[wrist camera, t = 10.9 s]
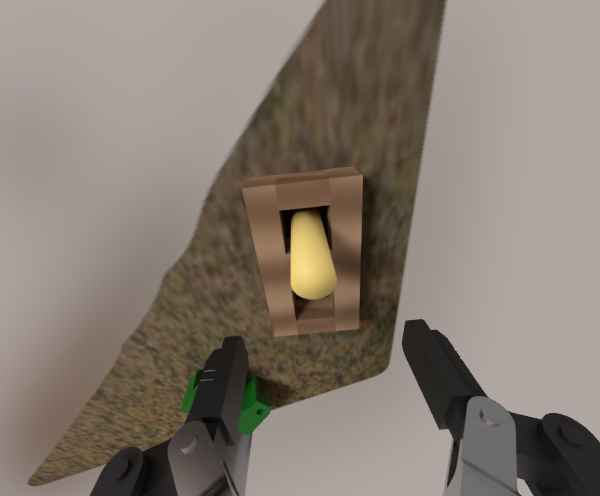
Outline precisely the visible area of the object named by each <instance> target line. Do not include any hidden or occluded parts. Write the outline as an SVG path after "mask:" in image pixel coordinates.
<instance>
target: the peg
mask: <svg viewBox="0 0 600 496" xmlns="http://www.w3.org/2000/svg"><path fill="white" fill-rule="evenodd" d="M336 284H337V276H336V272H335V269H334V265H333V261H332V257H331V254H330V250H329V246H328V242H327V239H326V235H325V231H324V227H323V223H322V220H321V216H320V212H319V210H318V208H317V207H308V208H299V209H293V210H292V213H291V287H292V289H293V291H294V292H295V293H296V294H297V295H299V296H300V297H302V298H305V299H320V298H323V297H325V296H327V295H329V294H330V293H331V292H332V291H333V290H334V288H335V287H336Z"/></svg>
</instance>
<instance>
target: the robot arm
mask: <svg viewBox="0 0 600 496" xmlns="http://www.w3.org/2000/svg"><path fill="white" fill-rule="evenodd" d="M402 347H403V351H404V354H405V357H406V359H407V361H408V363H409V365H410V367H411V369H412V372H413V374H414V376H415V378H416V380H417V383H418V385H419V387H420V389H421V391H422V393H423V395H424V398H425V400H426V402H427V404H428V406H429V408H430V411H431V413H432V415H433V417H434V419H435V421H436V424H437V426H438V428H439V430H441V429H449V431H450V432H451V435H452V437H453V438H452V443H451V449H450V456H449V462H448V469H447V475H446V482H445V487H444V492H443V496H521V495H520V494H519V493H518V489H517V478H520V479H523V480H525V482H526V484H527V485H528V487H529V489H530V491H531V492H532V494H533V495H534V496H600V442H599V441H598V440H597V439H596V437H595V436H594V435H593V434H592V433H591V432H590V431H589V430H588V429H587V428H585V427H584V426H583V425H582V424H580V423H578V422H577V421H575V420H574V419H572V418H570V417H567V416H565V415H562V414H558V413H549V414H546V415H545V416H544V417H543V418H542V420H541V419H537V418H533V417H528V416H524V415H519V414H516V413H512V412H509V411H507V410H506V409H505V408H504V407H503V406H502V405H500V404H499V403H497V402H496V401H494V400H492V399H490V398H489V397H488V396H487V395H486V394H485V393H484V391H483V390H482V389H481V387H480V385H479V384H478V382H477V381H476V380H475V378H474V377H473V375H472V374H471V373H470V371H469V369H468V368H467V366H466V365H465V363H464V362H463V361H462V360H461V359H460V356H459V355H458V353H457V352H456V351H455V350H454V347H453V346H452V344H451V343H450V342H449V340H448V339H447V338H446V337H445V336H444V335H443V334H441V333H440V332H439V331H438V330H430V328H429V327H428V325H427V324H426V322H425V321H424V320H423V319H418V320H408V321H406V322H405V327H404V333H403V339H402ZM248 365H249V360H248V354H247V351H246V348H245V344H244V341H243V338H242V336H230V337H225V339H224V341H223V345H222V348H221V349H215V350H214V351H213V352H212V354H211V355H210V356H209V358H208V359H207V361H206V364H205V367H204V370H203V371H204V372H203V373H202V376H201V379H200V382H199V385H198V388H197V391H196V394H195V397H194V400H193V403H192V406H191V408H190V411H189V414H188V417H187V420H186V422H185V423H184V425H183V426H181V427H180V428H179V429H178V430H177V431H176V432H175V434H174V435H173V437H172V438H170V439H169V440H167V441H165V442H163V443H161V444H158V445H156V446H154V447H152V448H150V449H147V450H145V451H143V452H142V451H141V450H140V449H139V448H137V447H129V448H126V449H124V450H122V451H120V452H119V453H117V454H116V455H115V456H114V457H113V458H112V459H111V460H110V461H109V462H108V463H107V464H106V466H105V467H104V469H103V470H102V472H101V474H100V476H99V478H98V480H97V482H96V484H95V486H94V488H93V490H92V492H91V494H90V496H245V488H246V480H247V471H248V463H249V456H250V448H251V440H252V433H251V434H250V435H249V436H248V435H245V434H243V433H240V432H238V426H239V420H240V414H241V408H242V402H243V396H244V390H245V384H246V379H247V373H248Z"/></svg>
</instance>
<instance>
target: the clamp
mask: <svg viewBox="0 0 600 496" xmlns="http://www.w3.org/2000/svg"><path fill="white" fill-rule="evenodd" d="M203 372H204V371H203V370H199V371H198V372H197V373H196V374H195V376H194V377H193V378H192V379H191V380H190V381H189V383H188V386H187V390H186V393H185V397H184V401H183V404H182V408H181V411H184V412H187V413H189V411H190V408H191V406H192V403H193V400H194V397H195V394H196V391H197V388H198V385H199V382H200V379H201V376H202V373H203ZM269 413H270V402H269V399H268V398H267V397H265V396H262V395H260V394H259V391H258V376H256V375H255V376H254V377H253V379H252V380H250V381H249V382H247V383H246V384H245V390H244V396H243V402H242V408H241V414H240V420H239V426H238V432H240V433H243V434H245V435H248V436H249V435H250V434H251V433H252V432H253V430H254V429H255V428H256V427H257V426H258V425H259V424H260V423H261V422H262V421H263V420H264V419H265V418H266V417H267V416H268V415H269Z"/></svg>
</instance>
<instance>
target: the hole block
mask: <svg viewBox="0 0 600 496" xmlns="http://www.w3.org/2000/svg"><path fill="white" fill-rule="evenodd" d="M242 192H243V196H244V201H245V205H246V210H247V214H248V218H249V223H250V227H251V232H252V236H253V241H254V245H255V249H256V254H257V258H258V263H259V267H260V272H261V276H262V280H263V285H264V289H265V294H266V298H267V303H268V307H269V312H270V316H271V320H272V325H273V329H274V334H275V337H276V336H286V335H297V334H308V333H318V332H329V331H339V330H350V329H359V306H360V269H361V232H362V195H363V175H362V174H361V173H360V172H359V171H358V170H357V169H356V168H355V167H354V166H352V167H343V168H334V169H325V170H316V171H307V172H298V173H289V174H280V175H271V176H262V177H253V178H248V179H247V181H246V183H245V184H244V186H243V188H242ZM317 206H326V211H327V230H328V233H326V234H325V235H326V239H327V242H328V246H329V250H330V254H331V257H332V261H333V265H334V269H335V272H336V276H337V284H336V287H335V288H334V290H333V291H332V292H331V297H323V298H320V299H301V300H295V293H294V291H293V289H292V287H291V237H288V238H286V232H285V225H284V219H283V212H282V210H289V209H299V208H308V207H317Z"/></svg>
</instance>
